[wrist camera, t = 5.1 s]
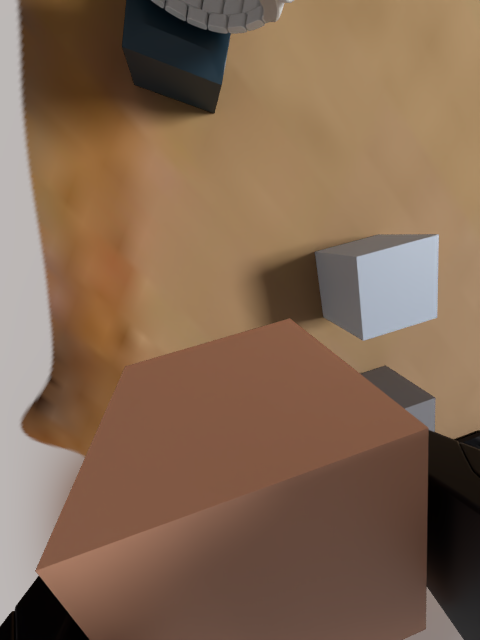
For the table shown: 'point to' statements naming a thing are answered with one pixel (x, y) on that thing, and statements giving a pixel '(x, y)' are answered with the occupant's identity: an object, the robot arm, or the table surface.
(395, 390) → the charcoal cube
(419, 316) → the slate cube
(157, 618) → the terracotta cube
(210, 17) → the watch
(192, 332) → the table surface
